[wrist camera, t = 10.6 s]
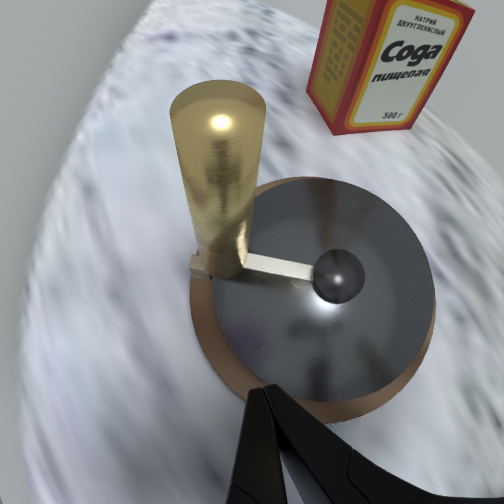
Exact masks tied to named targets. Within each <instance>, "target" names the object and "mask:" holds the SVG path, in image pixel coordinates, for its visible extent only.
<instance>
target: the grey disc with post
mask: <svg viewBox="0 0 504 504" xmlns="http://www.w3.org/2000/svg"><path fill="white" fill-rule="evenodd" d="M265 115H266V105H265V102H264V99H263V98H262V96H261V95H260V94H259V93H258V92H257V91H256V90H254V89H253V88H251V87H250V86H247V85H245V84H243V83H240V82H236V81H230V80H210V81H205V82H201V83H198V84H195V85H193V86H190V87H188V88H187V89H185V90H184V91H182V92H181V93H180V94H179V95H178V96H177V97H176V98H175V99H174V101H173V102H172V104H171V107H170V119H171V124H172V130H173V135H174V140H175V145H176V150H177V155H178V160H179V165H180V170H181V174H182V179H183V184H184V188H185V193H186V197H187V202H188V206H189V211H190V215H191V220H192V224H193V228H194V232H195V237H196V241H197V245H198V249H199V253H200V257H201V261H202V265H203V267H204V269H205V270H206V271H207V272H208V273H209V274H210V275H211V276H213V279H212V288H213V298H214V304H215V309H216V313H217V317H218V320H219V324H220V327H221V329H222V331H223V334H224V336H225V339H226V340H227V342H228V344H229V345H230V347H231V349H232V351H233V352H234V353H235V355H236V356H237V357H238V358H239V360H240V361H241V362H242V364H243V365H244V366H245V367H246V368H247V369H249V370H250V371H251V372H252V373H253V374H254V375H255V376H256V377H258V378H259V379H260V380H262V381H263V382H265V383H266V384H268V385H270V384H277V385H278V386H279V387H280V388H282V389H283V390H284V391H285V392H286V393H287V394H289V395H292V396H295V397H298V398H302V399H307V400H312V401H318V402H341V401H349V400H354V399H358V398H361V397H365V396H367V395H370V394H372V393H374V392H377V391H379V390H381V389H382V388H384V387H385V386H387V385H389V384H390V383H392V382H393V381H394V380H395V379H397V378H398V377H399V376H400V375H401V374H402V373H403V372H404V371H405V370H406V369H407V368H408V367H409V366H410V364H411V363H412V362H413V361H414V359H415V358H416V356H417V355H418V353H419V352H420V350H421V348H422V346H423V344H424V342H425V340H426V337H427V334H428V331H429V328H430V325H431V320H432V315H433V308H434V286H433V279H432V274H431V269H430V266H429V262H428V259H427V256H426V254H425V252H424V249H423V247H422V245H421V243H420V241H419V240H418V238H417V236H416V234H415V233H414V231H413V230H412V229H411V227H410V226H409V224H408V223H407V222H406V221H405V220H404V219H403V218H402V216H401V215H400V214H399V213H398V212H397V211H396V210H394V209H393V208H392V207H391V206H390V205H389V204H387V203H386V202H385V201H383V200H382V199H380V198H379V197H378V196H376V195H374V194H372V193H371V192H369V191H367V190H365V189H362V188H360V187H358V186H355V185H352V184H349V183H346V182H343V181H337V180H332V179H321V178H310V179H299V180H294V181H289V182H286V183H282V184H279V185H277V186H274V187H272V188H270V189H268V190H266V191H264V192H262V193H261V194H259V195H258V196H256V197H255V193H256V185H257V177H258V169H259V161H260V154H261V146H262V138H263V130H264V123H265Z"/></svg>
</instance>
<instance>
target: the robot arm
mask: <svg viewBox="0 0 504 504" xmlns="http://www.w3.org/2000/svg"><path fill="white" fill-rule="evenodd" d="M352 449H353V448H352V447H351V446H350V445H349V444H347V443H346V442H345V441H343V440H342V439H341V438H340V437H338V436H337V435H336V434H335V433H333V432H332V431H331V430H330V429H329V428H327V427H326V426H325V425H324V424H322V423H321V422H320V421H319V420H318V419H316V418H315V417H314V416H313V415H312V414H310V413H309V412H308V411H307V410H306V409H305V408H303V407H302V406H301V405H300V404H299V403H298V402H296V401H295V400H294V399H293V398H292V397H291V396H290V395H288V394H287V393H286V392H285V391H284V390H283V389H282V388H280V387H279V386H278V385H277V384H270V385H266V386H264V387H263V388H261V387H258V388H254V389H250V390H249V391H248V394H247V399H246V404H245V410H244V415H243V420H242V425H241V431H240V436H239V441H238V446H237V451H236V456H235V461H234V466H233V471H232V476H231V481H230V482H231V484H230V486H229V490H228V495H227V499H226V503H225V504H288V502H287V496H286V490H285V484H284V478H283V472H282V466H281V460H280V455H281V457H282V459H283V461H284V463H285V466H286V468H287V470H288V472H289V474H290V476H291V478H292V480H293V482H294V484H295V486H296V488H297V490H298V492H299V494H300V496H301V498H302V500H303V502H304V504H504V497H499V498H467V497H448V496H441V495H436V494H432V493H430V492H427V491H425V490H422V489H420V488H418V487H416V486H414V485H412V484H410V483H408V482H406V481H404V480H402V479H400V478H399V477H397V476H395V475H393V474H391V473H389V472H387V471H386V470H384V469H382V468H381V467H379V466H377V465H376V464H374V463H373V462H371V461H370V460H368V459H367V458H366V457H364V456H363V455H362V454H360V453H359V452H358V451H356V450H355V449H353V450H352Z"/></svg>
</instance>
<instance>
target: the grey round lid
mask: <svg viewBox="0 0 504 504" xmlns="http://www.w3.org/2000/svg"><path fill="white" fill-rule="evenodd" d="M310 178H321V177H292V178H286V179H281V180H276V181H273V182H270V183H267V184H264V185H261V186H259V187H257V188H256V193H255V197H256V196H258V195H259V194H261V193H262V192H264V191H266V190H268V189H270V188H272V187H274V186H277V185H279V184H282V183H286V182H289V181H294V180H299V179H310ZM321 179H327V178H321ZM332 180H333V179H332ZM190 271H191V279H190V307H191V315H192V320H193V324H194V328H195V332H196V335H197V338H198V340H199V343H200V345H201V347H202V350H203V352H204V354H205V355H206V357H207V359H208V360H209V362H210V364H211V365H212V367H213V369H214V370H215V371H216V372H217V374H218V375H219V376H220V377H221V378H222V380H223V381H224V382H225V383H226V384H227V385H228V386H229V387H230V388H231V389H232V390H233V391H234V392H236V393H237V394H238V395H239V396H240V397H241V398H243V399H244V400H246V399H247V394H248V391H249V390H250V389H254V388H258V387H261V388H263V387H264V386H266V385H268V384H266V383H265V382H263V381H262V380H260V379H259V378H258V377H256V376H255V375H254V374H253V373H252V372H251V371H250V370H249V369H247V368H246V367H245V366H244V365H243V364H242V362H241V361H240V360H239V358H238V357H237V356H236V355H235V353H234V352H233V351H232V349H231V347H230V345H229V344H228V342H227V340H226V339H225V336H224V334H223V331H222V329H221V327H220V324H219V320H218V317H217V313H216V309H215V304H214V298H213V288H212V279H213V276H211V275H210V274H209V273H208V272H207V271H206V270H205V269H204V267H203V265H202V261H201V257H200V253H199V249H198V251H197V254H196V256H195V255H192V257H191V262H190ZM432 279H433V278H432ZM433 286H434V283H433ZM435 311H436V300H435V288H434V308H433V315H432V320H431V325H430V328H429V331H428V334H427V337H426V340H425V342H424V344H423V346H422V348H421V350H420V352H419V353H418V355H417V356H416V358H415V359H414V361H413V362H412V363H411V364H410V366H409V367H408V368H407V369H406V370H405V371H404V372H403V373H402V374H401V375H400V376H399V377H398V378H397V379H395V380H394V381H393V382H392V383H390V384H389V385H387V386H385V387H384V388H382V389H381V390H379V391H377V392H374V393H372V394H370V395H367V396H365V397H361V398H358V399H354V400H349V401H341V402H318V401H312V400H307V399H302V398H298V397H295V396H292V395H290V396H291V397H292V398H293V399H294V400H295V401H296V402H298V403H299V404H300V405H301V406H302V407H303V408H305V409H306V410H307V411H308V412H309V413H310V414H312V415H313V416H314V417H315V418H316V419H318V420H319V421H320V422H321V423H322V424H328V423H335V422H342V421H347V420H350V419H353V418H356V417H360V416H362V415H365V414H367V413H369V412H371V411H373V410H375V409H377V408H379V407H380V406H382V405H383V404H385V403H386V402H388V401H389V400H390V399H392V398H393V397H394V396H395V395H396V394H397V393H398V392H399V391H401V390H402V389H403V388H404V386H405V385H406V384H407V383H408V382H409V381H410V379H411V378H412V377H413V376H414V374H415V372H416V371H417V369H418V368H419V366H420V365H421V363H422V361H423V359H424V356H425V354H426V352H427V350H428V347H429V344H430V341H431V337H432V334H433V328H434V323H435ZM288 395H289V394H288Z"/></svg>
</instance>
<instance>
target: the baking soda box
mask: <svg viewBox="0 0 504 504" xmlns="http://www.w3.org/2000/svg"><path fill="white" fill-rule="evenodd" d="M474 13H475V10H474V9H472V8H471V7H470V6H468V5H467V4H466V3H464V2H463V1H462V0H327V4H326V9H325V13H324V17H323V21H322V26H321V30H320V34H319V39H318V43H317V47H316V51H315V56H314V60H313V64H312V68H311V73H310V77H309V81H308V85H307V89H306V92H307V94H308V95H309V97H310V98H311V100H312V101H313V103H314V104H315V106H316V107H317V109H318V111H319V112H320V114H321V115H322V117H323V119H324V120H325V122H326V124H327V125H328V127H329V129H330V130H331V132H332V134H333V135H334V136H336V135H345V134H355V133H365V132H377V131H390V130H406V129H411V127H412V126H413V124H414V122H415V121H416V119H417V117H418V116H419V114H420V112H421V111H422V109H423V107H424V106H425V104H426V102H427V100H428V99H429V97H430V95H431V93H432V92H433V90H434V88H435V86H436V85H437V83H438V81H439V79H440V78H441V76H442V74H443V72H444V70H445V69H446V67H447V65H448V63H449V61H450V59H451V58H452V56H453V54H454V52H455V50H456V48H457V46H458V44H459V42H460V41H461V39H462V37H463V35H464V33H465V31H466V29H467V27H468V25H469V23H470V21H471V19H472V17H473V15H474Z"/></svg>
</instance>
